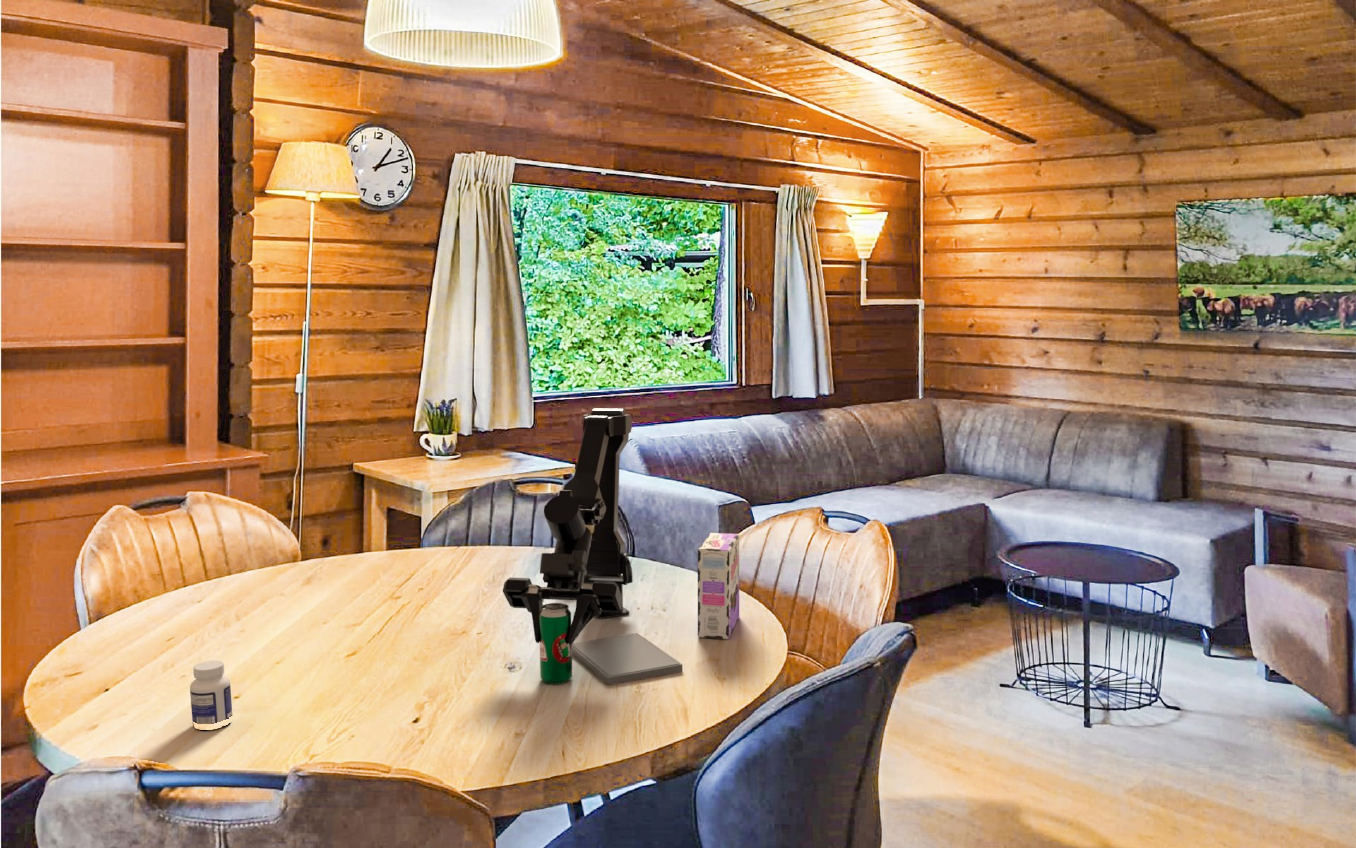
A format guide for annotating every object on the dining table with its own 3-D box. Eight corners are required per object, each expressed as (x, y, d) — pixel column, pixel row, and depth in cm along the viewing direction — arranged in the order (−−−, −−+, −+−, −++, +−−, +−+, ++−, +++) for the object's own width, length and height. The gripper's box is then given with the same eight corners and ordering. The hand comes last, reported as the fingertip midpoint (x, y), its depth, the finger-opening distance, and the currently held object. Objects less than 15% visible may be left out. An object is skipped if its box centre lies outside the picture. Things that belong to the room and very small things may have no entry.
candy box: (729, 640, 186) (729, 549, 184) (696, 638, 187) (696, 548, 185) (740, 617, 199) (740, 532, 197) (709, 615, 200) (709, 531, 198)
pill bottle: (219, 714, 154) (215, 656, 153) (240, 722, 151) (236, 663, 150) (184, 726, 150) (180, 666, 149) (205, 735, 147) (201, 674, 146)
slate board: (568, 650, 181) (568, 643, 180) (637, 639, 186) (637, 632, 186) (608, 685, 165) (608, 677, 164) (682, 671, 170) (682, 663, 170)
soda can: (541, 674, 169) (539, 602, 168) (572, 673, 170) (571, 601, 168) (539, 686, 164) (537, 612, 163) (572, 685, 165) (570, 611, 163)
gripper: (504, 529, 170) (483, 616, 160) (617, 532, 167) (601, 621, 157) (521, 564, 178) (501, 648, 169) (628, 568, 175) (614, 654, 166)
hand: (553, 642), depth 165 cm, fingers closed on soda can, 5 cm apart
